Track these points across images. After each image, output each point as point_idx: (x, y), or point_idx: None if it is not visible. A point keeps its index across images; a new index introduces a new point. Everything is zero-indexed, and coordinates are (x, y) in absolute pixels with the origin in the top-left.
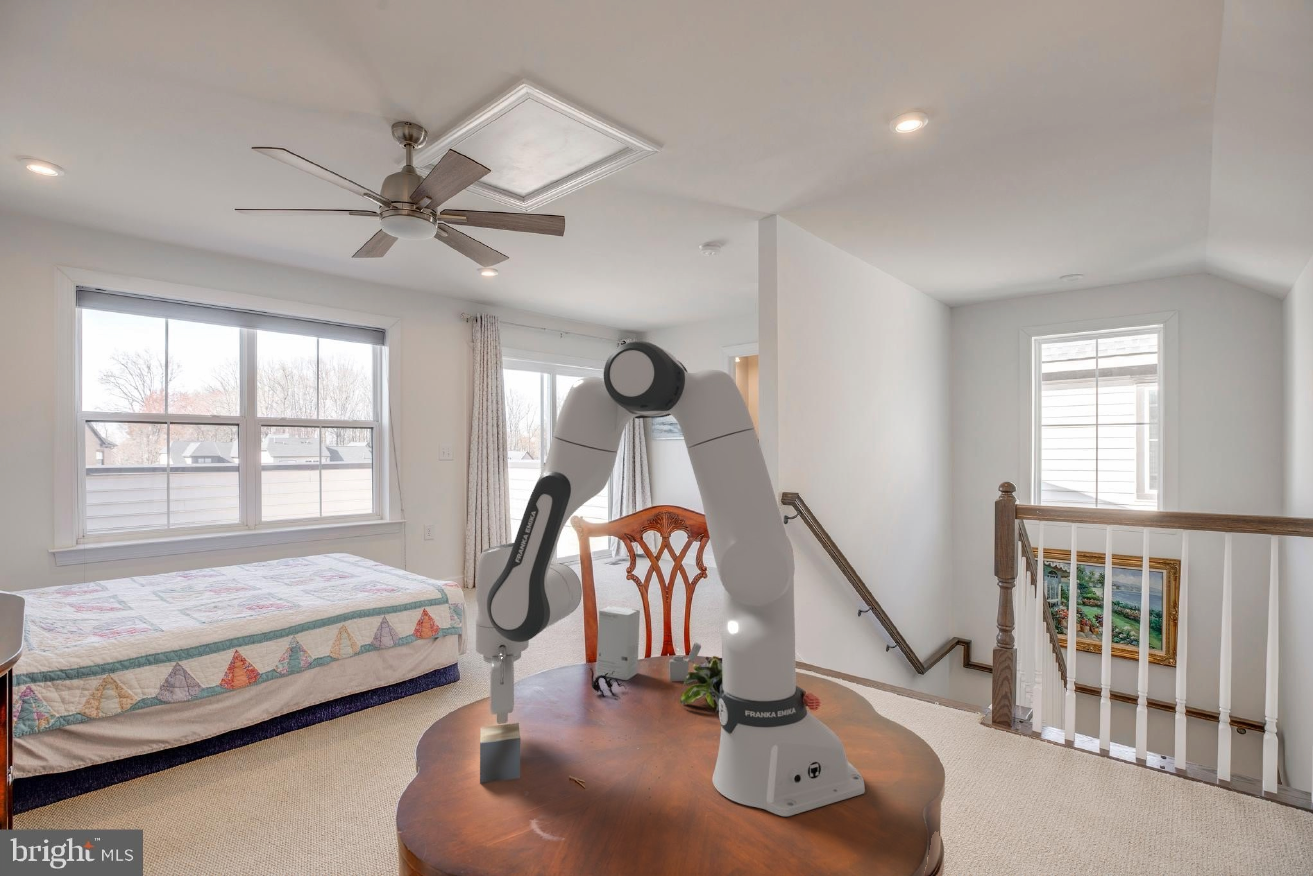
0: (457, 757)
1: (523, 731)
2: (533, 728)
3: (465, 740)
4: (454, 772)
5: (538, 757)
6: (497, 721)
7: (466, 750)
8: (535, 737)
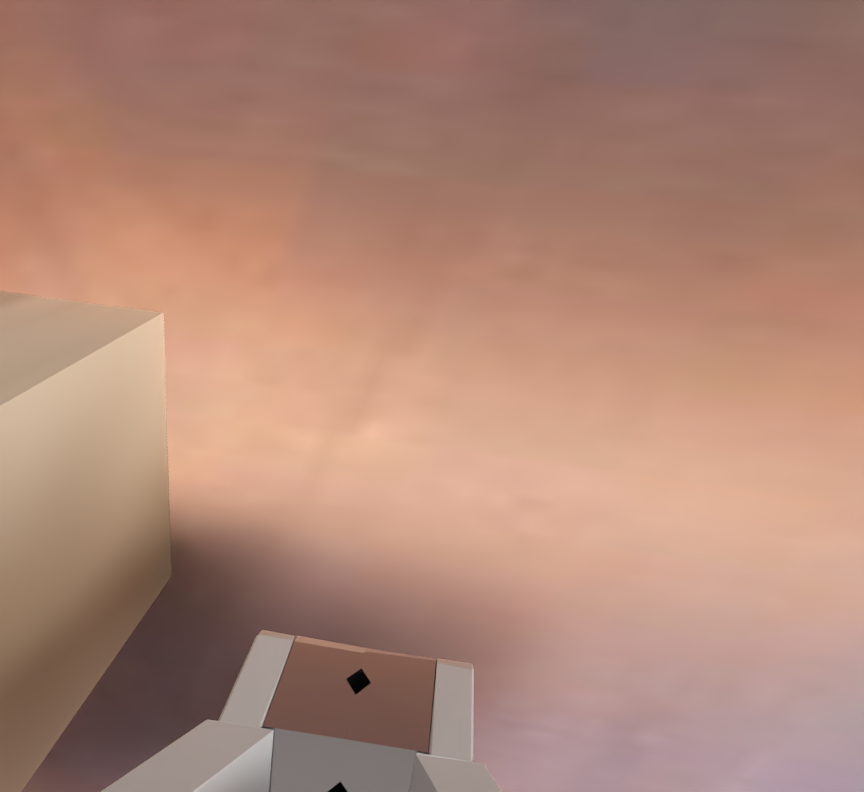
0: (375, 126)
1: (651, 693)
2: (666, 758)
3: (731, 236)
4: (76, 76)
5: (177, 689)
6: (255, 645)
7: (495, 225)
8: (500, 737)
